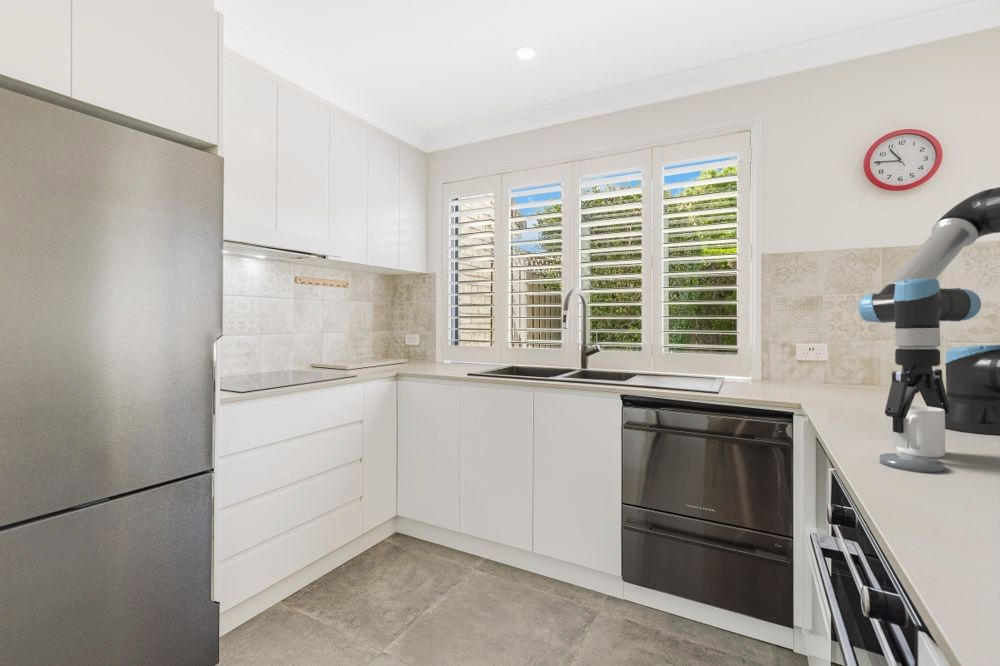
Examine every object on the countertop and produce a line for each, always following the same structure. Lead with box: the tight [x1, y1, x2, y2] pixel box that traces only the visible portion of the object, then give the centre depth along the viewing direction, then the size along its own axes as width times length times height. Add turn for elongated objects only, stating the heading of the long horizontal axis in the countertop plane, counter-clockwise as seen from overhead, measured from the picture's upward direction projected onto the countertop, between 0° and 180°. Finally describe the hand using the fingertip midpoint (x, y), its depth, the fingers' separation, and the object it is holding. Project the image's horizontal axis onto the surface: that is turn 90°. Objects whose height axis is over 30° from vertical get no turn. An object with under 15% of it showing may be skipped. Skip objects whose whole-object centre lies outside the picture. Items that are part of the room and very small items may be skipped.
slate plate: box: [879, 452, 945, 474], centre depth 96 cm, size 10×10×1 cm
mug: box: [895, 404, 946, 459], centre depth 104 cm, size 12×8×10 cm
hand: (918, 444), depth 104 cm, fingers closed on mug, 12 cm apart
